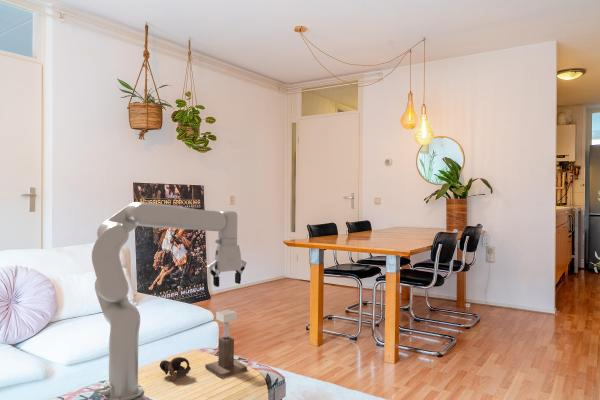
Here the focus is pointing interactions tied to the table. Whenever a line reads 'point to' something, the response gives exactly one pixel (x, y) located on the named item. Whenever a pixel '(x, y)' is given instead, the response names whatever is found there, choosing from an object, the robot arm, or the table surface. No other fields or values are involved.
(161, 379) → the table surface
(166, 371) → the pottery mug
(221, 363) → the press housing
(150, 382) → the table surface
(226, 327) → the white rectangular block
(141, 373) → the table surface
